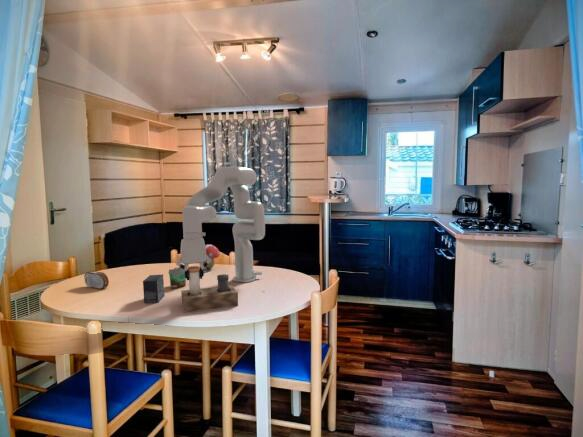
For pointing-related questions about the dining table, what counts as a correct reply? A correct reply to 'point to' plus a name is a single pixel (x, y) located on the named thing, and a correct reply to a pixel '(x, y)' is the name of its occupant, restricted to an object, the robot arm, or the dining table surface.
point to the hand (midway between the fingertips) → (194, 278)
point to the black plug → (222, 282)
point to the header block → (209, 299)
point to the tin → (96, 280)
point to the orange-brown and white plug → (194, 280)
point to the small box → (153, 289)
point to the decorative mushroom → (211, 255)
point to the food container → (177, 278)
